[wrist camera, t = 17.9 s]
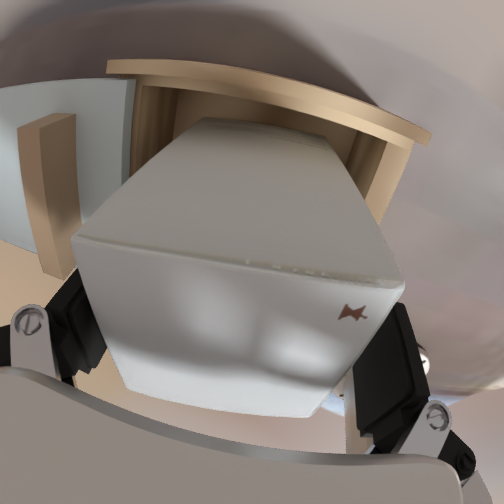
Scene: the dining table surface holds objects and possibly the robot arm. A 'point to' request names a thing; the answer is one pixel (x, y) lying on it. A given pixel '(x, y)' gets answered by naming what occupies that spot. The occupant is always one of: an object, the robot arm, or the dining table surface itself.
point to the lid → (61, 161)
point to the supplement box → (238, 271)
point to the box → (268, 117)
